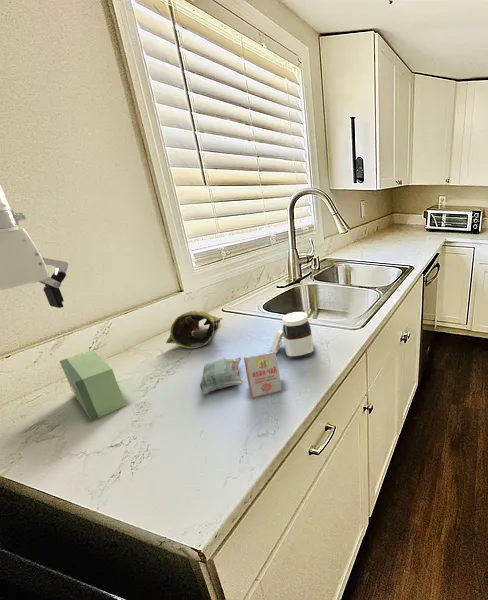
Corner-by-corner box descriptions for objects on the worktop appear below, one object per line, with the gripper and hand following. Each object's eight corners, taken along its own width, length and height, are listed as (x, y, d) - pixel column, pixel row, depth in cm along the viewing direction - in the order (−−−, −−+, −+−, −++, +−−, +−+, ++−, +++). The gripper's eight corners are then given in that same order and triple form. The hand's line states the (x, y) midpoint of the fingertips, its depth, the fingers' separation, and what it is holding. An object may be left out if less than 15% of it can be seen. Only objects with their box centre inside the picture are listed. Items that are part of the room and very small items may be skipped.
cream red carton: (251, 390, 79) (244, 354, 75) (280, 383, 81) (274, 348, 78) (251, 399, 76) (243, 361, 72) (282, 391, 78) (275, 355, 75)
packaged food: (242, 366, 89) (238, 350, 87) (243, 390, 79) (239, 373, 77) (206, 374, 85) (201, 358, 84) (202, 401, 75) (197, 383, 74)
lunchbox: (89, 422, 69) (71, 383, 65) (73, 398, 77) (56, 361, 73) (126, 406, 74) (111, 368, 70) (107, 385, 82) (93, 350, 78)
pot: (227, 298, 113) (210, 300, 95) (242, 327, 114) (228, 334, 97) (176, 320, 109) (149, 326, 92) (193, 349, 111) (169, 361, 93)
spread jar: (316, 357, 93) (312, 320, 88) (275, 367, 88) (268, 329, 84) (308, 340, 103) (304, 305, 99) (270, 348, 98) (264, 312, 94)
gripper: (37, 216, 64) (69, 298, 70) (-117, 229, 48) (-59, 332, 55) (60, 218, 61) (91, 302, 67) (-95, 231, 46) (-37, 339, 52)
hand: (24, 315), depth 61 cm, fingers open, 9 cm apart
